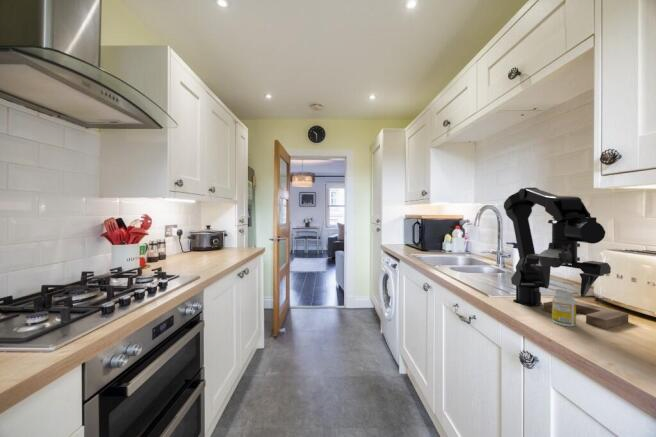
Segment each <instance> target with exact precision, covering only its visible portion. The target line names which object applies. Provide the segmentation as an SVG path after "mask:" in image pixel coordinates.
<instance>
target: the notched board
mask: <svg viewBox="0 0 656 437" xmlns="http://www.w3.org/2000/svg"><path fill="white" fill-rule="evenodd" d="M575 301H576V313H579V314H582V315H585V323H586V324H587V325H590V326H591V325H592V326H594V327H598V328H601V329H604V330H607V329H611V328H613V327H614V328H615V327H618V326H620V325H623V324H626V323H629V313H627V312H622V311H618V310H614V309H611V308H606V307H603V306H597V305H594V304H591V303H590V304H589V303H586V302H581V301H578V300H575ZM542 305H543V307H542V309H543V310H542V311H544V312H547V313H550V314H552V300H551V301H547V302H542Z"/></svg>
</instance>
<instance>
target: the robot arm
mask: <svg viewBox="0 0 656 437" xmlns="http://www.w3.org/2000/svg"><path fill="white" fill-rule="evenodd" d="M536 205H539V206H541V207H543V208H544V211H545V213H547V214H549V215H550V216H552V217H551V218H550V219H549V220H548V221H547V223H548V224H551V242H548V248H547V249H544V250H542V252H540V253H536V250H535V246H534V245H535V244H534V240H533V235H532V230H531V224H530V221H529V218H530V216H531V215H532V212H533V208H534V206H536ZM503 209H504V211H505V214H506V216H507V217H508V218H509V219H510V220H511V222H512V225H513V229H514V234H515V235H514V236H515V241H516V246H517V251H518V258H519V259H518V260H517V263H516V264H515V265H516V266H515V272H514V273H513V275H512V276H511V278H510V281H511V284H512V285H513V286H514V287H515V299H513V300H512V301H513V302H515V303H519V304H521V305H525V306H529V307H535V306H539V305H543V302H542V293H541V291H540V288H544V289H546V290H547V289H549V286H550V279H551V270H552V269H551V268H553V269H554V268H561V267H565V268H572V269H579V270H581V273H579V277H580V278H581V279H580V280H581V281H580V282H581V283H580V297H581V298H584V297H586V295H588V293H589V291H590V289H591V287H592V285H594V283H595V281H597V279H598V278H599V277H602V276H603V277H604V275H609V274H611V272H612V271H611V270H612V267H611V265H610V264H609V263H608V262H603V261H602V262H601V261H596V260H588V261H582V262H581V259H580V258H581V257H579V256H578V248H581V243H584V244H585V243H586V244H591V245H592V244H598V243H600V242H601V241H602V240H604V238H605V235H606V230H605V228H604V226H603V225H602V224H601V223H599V222H598V221H597V217H593V216H591V213H590V212H589V210H588V208H587V207H586V205H585V204H584V202H583V201H582V198H580V197H578V196H573V195H571V196H570V195H557V194H554V193H551V192H547V191H545V190H541V189H539V188H538V187H522V188H520V189H519V190H518V191H517V192H514V193H513V194H511V195H509V196H508V197H507V198H506V199H505V201H504V202H503Z"/></svg>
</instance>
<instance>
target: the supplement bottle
mask: <svg viewBox="0 0 656 437" xmlns="http://www.w3.org/2000/svg"><path fill="white" fill-rule="evenodd" d="M573 297H574V292H573V291H571V290H567V289H560V288H558V289H555V296H553V297H552V300H551V301H552V313H551V316H552V317H551V320H552V322H553V323H554V324H556V325H559V326H561V327H562V326H563V327H568V328H569V327H572V328H573V327H575V326H576V323H577V312H576V301H577V300H575V299H574V298H573Z"/></svg>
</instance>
